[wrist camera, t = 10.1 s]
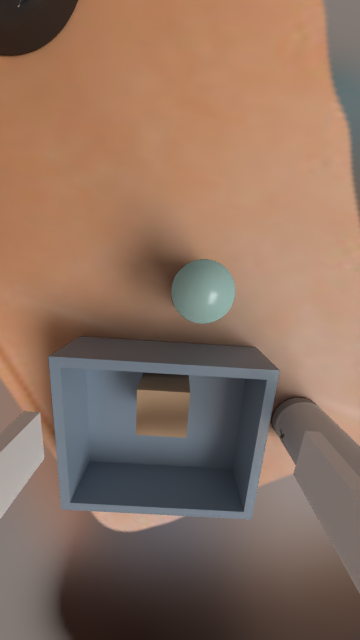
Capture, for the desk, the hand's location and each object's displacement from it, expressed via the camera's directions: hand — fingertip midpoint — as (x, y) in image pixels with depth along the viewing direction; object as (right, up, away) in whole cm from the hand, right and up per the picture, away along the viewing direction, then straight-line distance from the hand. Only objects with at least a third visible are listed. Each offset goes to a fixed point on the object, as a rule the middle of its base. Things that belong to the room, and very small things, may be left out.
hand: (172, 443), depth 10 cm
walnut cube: (-1, -2, +14) cm, 14 cm away
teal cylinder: (+2, +10, +13) cm, 16 cm away
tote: (-2, -5, +16) cm, 17 cm away
